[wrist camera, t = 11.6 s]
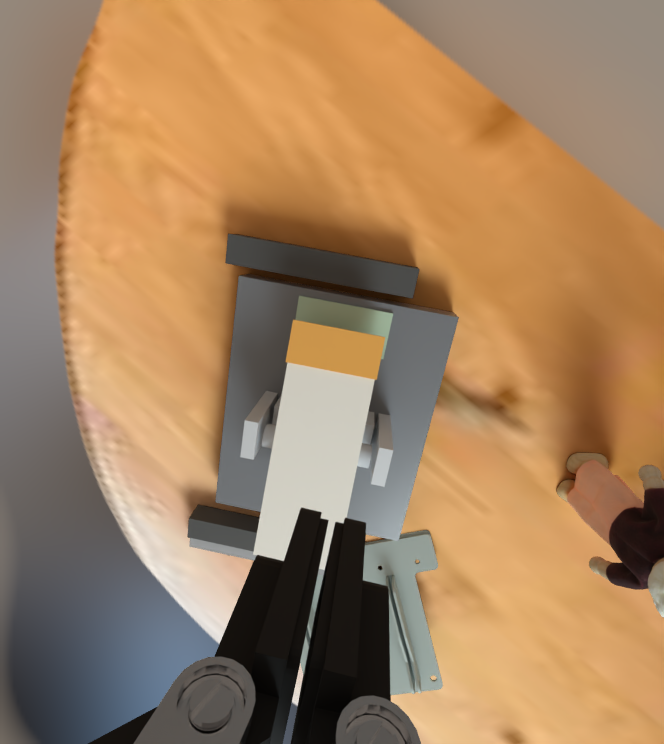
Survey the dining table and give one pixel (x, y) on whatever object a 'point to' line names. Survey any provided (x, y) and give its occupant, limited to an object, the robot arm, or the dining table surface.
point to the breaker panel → (388, 401)
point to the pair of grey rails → (237, 529)
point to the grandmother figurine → (621, 521)
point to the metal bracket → (399, 609)
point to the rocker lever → (317, 431)
